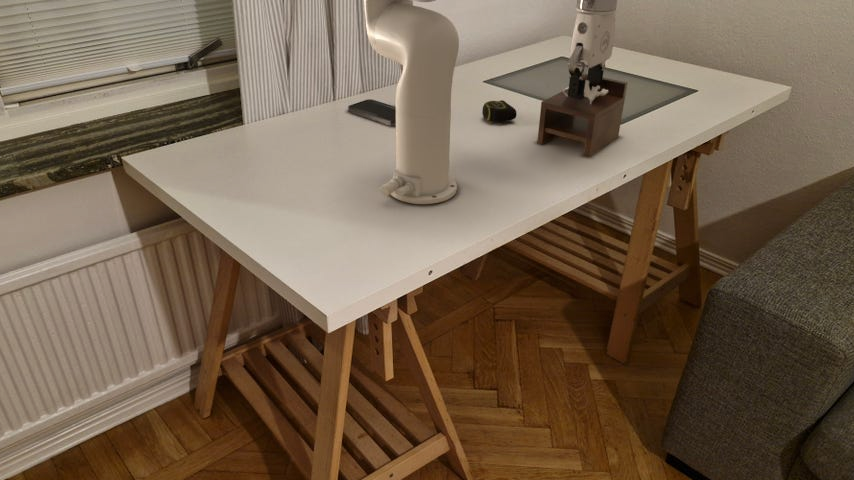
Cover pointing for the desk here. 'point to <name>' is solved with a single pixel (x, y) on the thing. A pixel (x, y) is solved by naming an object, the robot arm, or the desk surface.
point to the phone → (375, 111)
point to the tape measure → (498, 111)
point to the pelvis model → (590, 92)
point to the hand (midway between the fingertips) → (584, 92)
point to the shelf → (584, 117)
